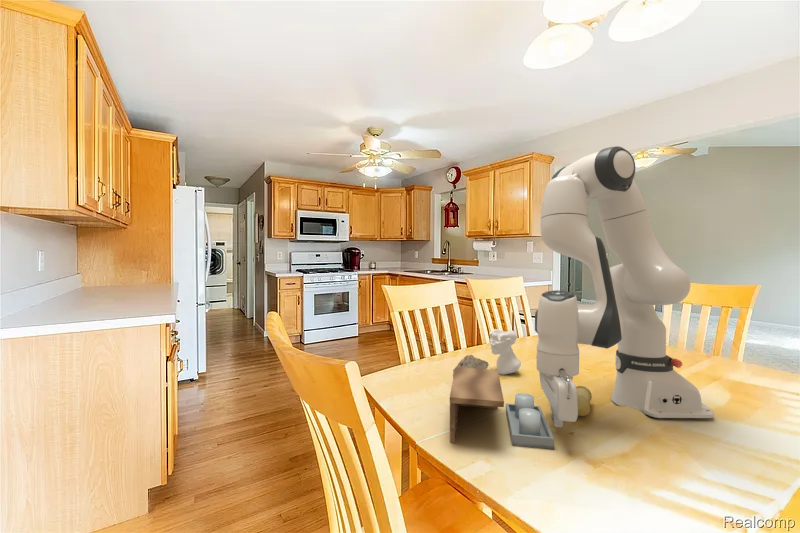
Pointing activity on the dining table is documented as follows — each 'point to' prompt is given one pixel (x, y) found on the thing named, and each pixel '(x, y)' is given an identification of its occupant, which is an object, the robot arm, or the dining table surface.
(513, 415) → the tray
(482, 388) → the counter
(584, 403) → the potato
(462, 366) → the rock
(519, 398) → the pale grey cylinder
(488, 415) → the dining table surface
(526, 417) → the pillar candle
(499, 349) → the small white figurine
